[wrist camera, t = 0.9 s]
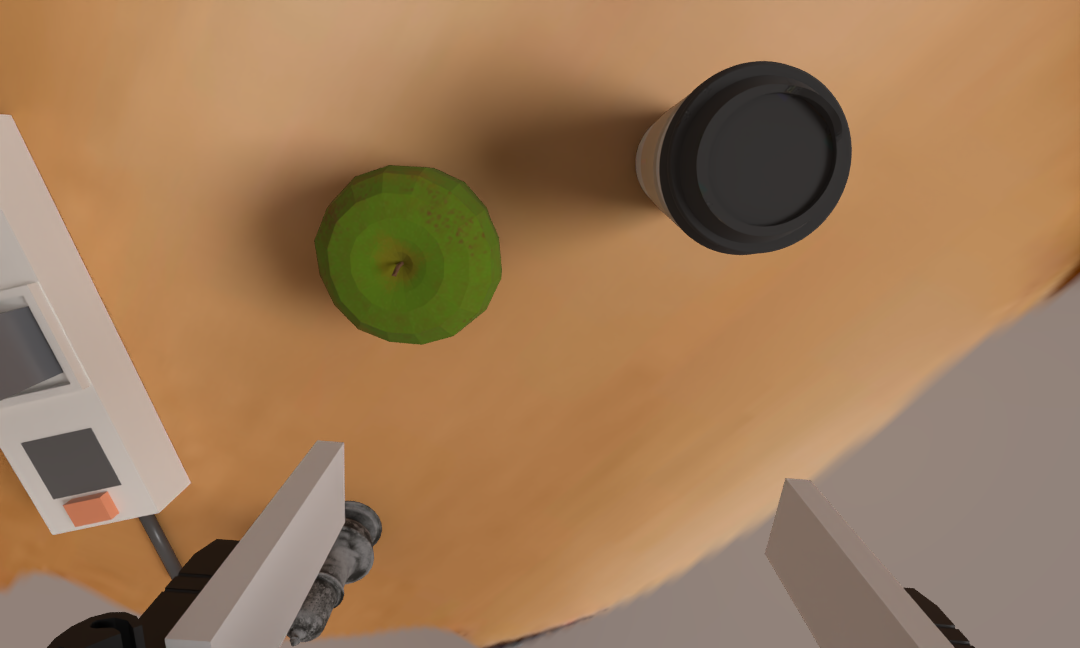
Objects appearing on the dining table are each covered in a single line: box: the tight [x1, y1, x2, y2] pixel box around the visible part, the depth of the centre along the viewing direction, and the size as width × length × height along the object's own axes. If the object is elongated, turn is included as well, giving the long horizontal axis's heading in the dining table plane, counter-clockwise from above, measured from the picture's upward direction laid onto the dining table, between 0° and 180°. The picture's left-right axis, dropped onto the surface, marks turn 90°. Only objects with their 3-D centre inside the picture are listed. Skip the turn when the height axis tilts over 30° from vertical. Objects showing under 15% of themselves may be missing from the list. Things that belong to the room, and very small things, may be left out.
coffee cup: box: [636, 61, 852, 255], centre depth 31 cm, size 9×9×15 cm
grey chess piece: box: [287, 501, 382, 646], centre depth 41 cm, size 6×6×12 cm
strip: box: [0, 114, 191, 580], centre depth 40 cm, size 39×9×5 cm, turn 13°
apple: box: [314, 165, 502, 345], centre depth 34 cm, size 11×11×11 cm
